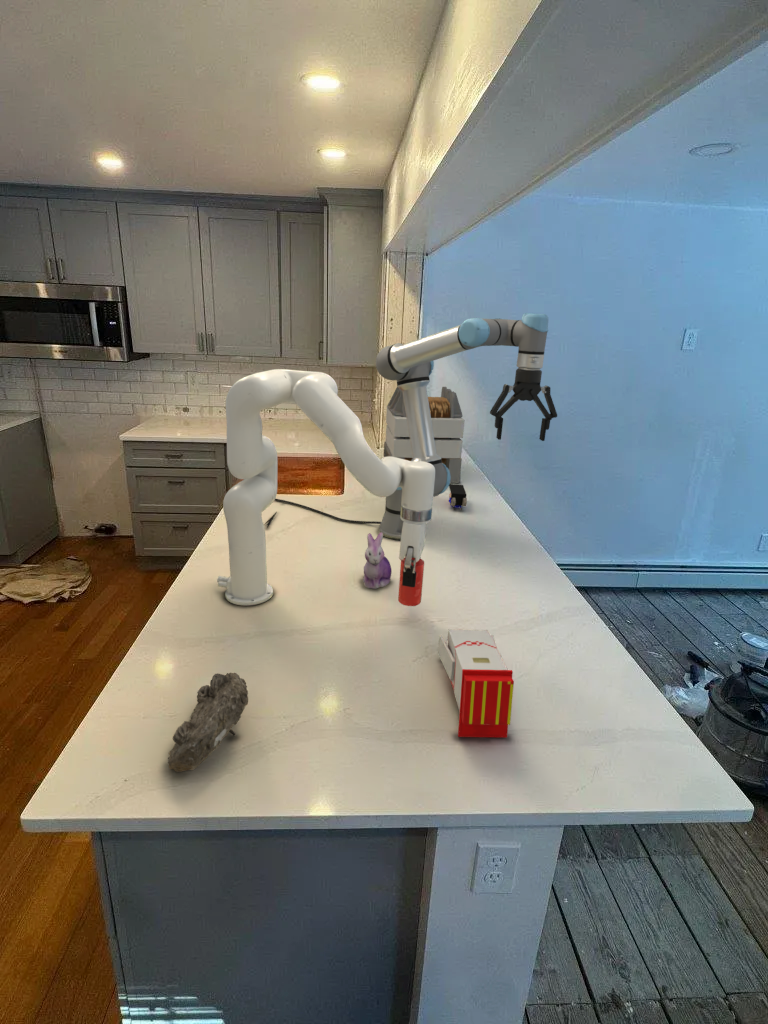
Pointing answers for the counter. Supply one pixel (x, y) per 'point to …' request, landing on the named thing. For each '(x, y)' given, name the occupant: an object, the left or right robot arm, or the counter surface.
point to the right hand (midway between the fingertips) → (520, 439)
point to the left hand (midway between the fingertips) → (411, 579)
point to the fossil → (209, 721)
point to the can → (411, 594)
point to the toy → (478, 682)
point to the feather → (270, 520)
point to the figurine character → (457, 496)
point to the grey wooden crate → (443, 423)
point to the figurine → (376, 564)
